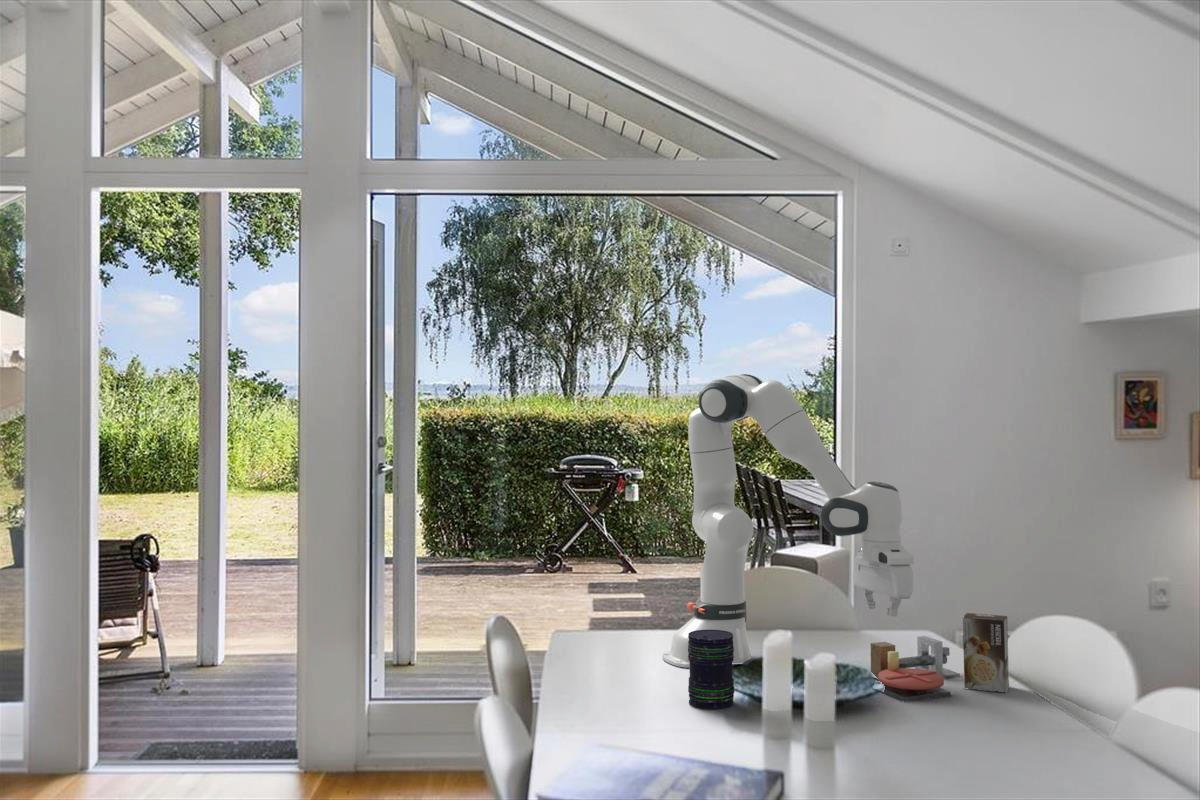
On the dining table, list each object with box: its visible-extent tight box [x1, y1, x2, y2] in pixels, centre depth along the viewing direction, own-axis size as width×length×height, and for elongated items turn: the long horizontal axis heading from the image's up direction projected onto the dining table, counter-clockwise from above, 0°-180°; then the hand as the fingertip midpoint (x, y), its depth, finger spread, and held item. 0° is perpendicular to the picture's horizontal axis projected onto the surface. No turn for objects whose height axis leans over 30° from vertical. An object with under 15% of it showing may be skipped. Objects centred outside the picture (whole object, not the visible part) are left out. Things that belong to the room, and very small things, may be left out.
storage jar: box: [687, 630, 735, 711], centre depth 234 cm, size 10×10×15 cm
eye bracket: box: [914, 635, 961, 679], centre depth 258 cm, size 6×9×8 cm, turn 20°
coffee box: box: [962, 612, 1010, 693], centre depth 245 cm, size 9×6×16 cm
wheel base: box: [883, 685, 952, 703], centre depth 242 cm, size 12×12×1 cm
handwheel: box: [877, 650, 945, 690], centre depth 242 cm, size 14×14×6 cm
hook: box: [870, 641, 951, 678], centre depth 256 cm, size 20×4×8 cm, turn 110°
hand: (881, 612), depth 253 cm, fingers open, 8 cm apart
